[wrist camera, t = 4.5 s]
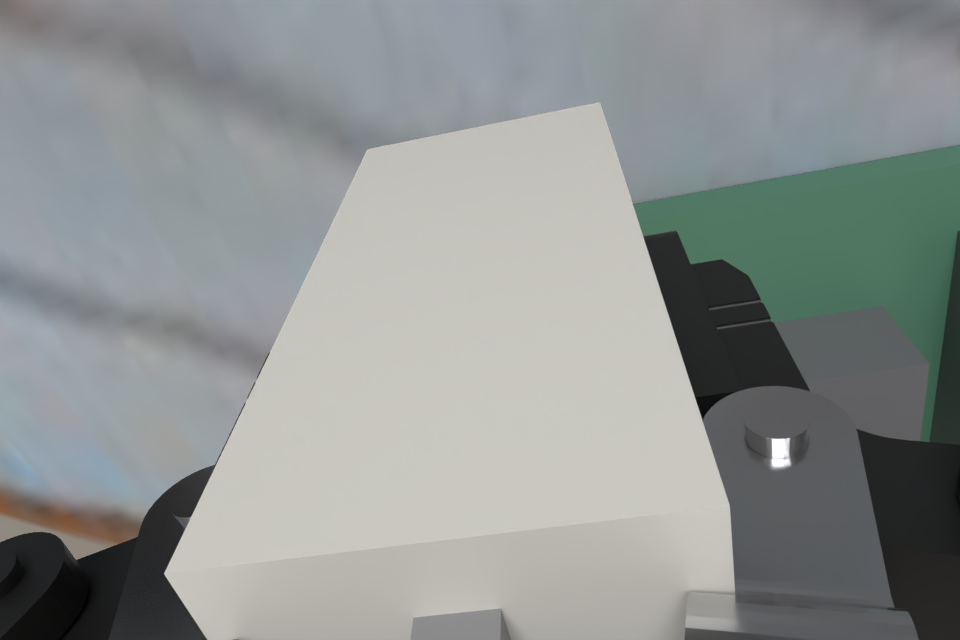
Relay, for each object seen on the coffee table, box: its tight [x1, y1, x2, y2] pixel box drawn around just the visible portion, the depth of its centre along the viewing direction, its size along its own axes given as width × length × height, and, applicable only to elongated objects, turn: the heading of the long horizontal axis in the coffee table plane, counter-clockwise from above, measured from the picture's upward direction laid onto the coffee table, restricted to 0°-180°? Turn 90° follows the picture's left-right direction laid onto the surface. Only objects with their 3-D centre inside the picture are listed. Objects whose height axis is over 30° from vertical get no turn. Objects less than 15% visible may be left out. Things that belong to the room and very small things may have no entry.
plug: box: [164, 102, 735, 640], centre depth 9 cm, size 4×4×9 cm
